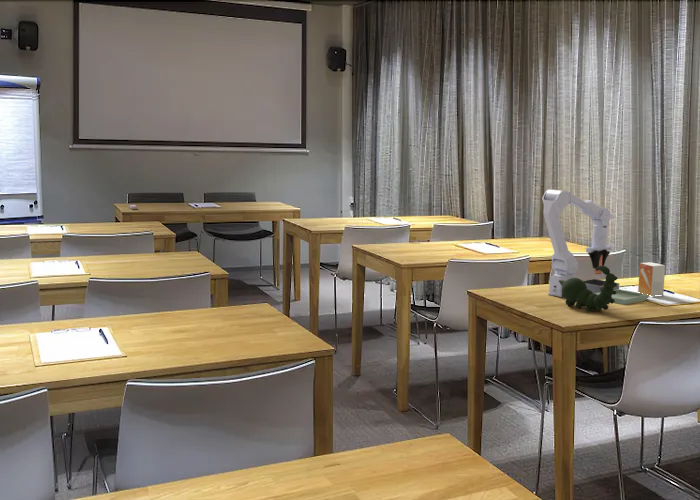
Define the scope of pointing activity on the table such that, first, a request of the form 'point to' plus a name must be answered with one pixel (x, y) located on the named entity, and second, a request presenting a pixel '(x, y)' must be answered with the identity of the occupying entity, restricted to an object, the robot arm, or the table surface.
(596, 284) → the grey square bin
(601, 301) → the toy figurine
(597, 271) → the dowel
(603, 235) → the robot arm
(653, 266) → the small box
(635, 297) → the tray
